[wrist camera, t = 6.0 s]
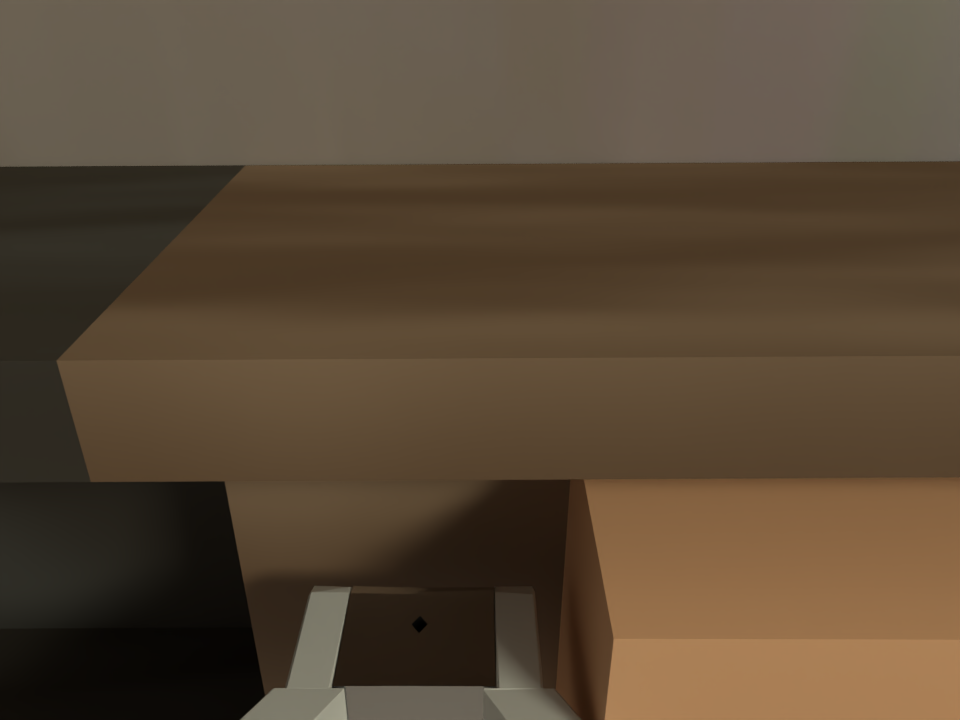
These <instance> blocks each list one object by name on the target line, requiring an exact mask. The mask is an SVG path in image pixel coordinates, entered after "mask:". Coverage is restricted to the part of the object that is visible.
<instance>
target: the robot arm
mask: <svg viewBox="0 0 960 720" xmlns="http://www.w3.org/2000/svg"><path fill="white" fill-rule="evenodd" d="M240 720H582V719H581V718H580V717H579V716H578V715H577V714H576V712H575V711H574V710H573V709H572V708H571V707H570V705H569V704H568V703H567V702H566V701H565V700H564V698H563V697H562V696H561V695H560V694H559V693H558V692H557V690H556V689H549V688H543V680H542V668H541V657H540V645H539V634H538V622H537V611H536V599H535V591H534V590H533V588H532V586H515V587H495V588H494V589H493V587H430V588H409V587H371V586H353V587H336V586H314V587H313V589H312V590H311V592H310V594H309V596H308V600H307V604H306V608H305V612H304V616H303V619H302V623H301V627H300V631H299V635H298V639H297V643H296V647H295V651H294V655H293V659H292V662H291V666H290V670H289V674H288V678H287V682H286V686H285V688H273V689H272V690H271V691H270V692H269V693H268V694H266V695H265V696H264V697H263V698H262V699H261V700H260V701H259V702H258V703H257V704H256V705H255V706H254V707H253V708H252V709H251V710H249V711H248V712H247V713H246V714H245V715H244V716H243V717H242V718H241V719H240Z"/></svg>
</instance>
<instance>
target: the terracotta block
mask: <svg viewBox="0 0 960 720" xmlns="http://www.w3.org/2000/svg"><path fill="white" fill-rule="evenodd" d="M556 690H557V692H558V693H559V694H560V695H561V696H562V697H563V698H564V700H565V701H566V702H567V703H568V704H569V705H570V707H571V708H572V709H573V710H574V711H575V712H576V714H577V715H578V716H579V717H580V718H581V719H582V720H960V477H951V478H760V479H570V491H569V506H568V520H567V535H566V549H565V564H564V578H563V593H562V607H561V621H560V636H559V650H558V665H557V679H556Z"/></svg>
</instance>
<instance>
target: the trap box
mask: <svg viewBox="0 0 960 720" xmlns="http://www.w3.org/2000/svg"><path fill="white" fill-rule="evenodd" d="M951 477H960V162H788V163H610V164H432V165H254V166H76V167H0V720H240V719H241V718H242V717H243V716H244V715H245V714H246V713H247V712H248V711H249V710H251V709H252V708H253V707H254V706H255V705H256V704H257V703H258V702H259V701H260V700H261V699H262V698H263V697H264V696H265V695H266V694H268V693H269V692H270V691H271V690H272V689H273V688H285V686H286V682H287V678H288V674H289V670H290V666H291V662H292V659H293V655H294V651H295V647H296V643H297V639H298V635H299V631H300V627H301V623H302V619H303V616H304V612H305V608H306V604H307V600H308V596H309V594H310V592H311V590H312V589H313V587H314V586H336V587H353V586H371V587H409V588H430V587H493V589H494V588H495V587H515V586H532V588H533V590H534V591H535V599H536V611H537V622H538V634H539V645H540V657H541V668H542V680H543V688H549V689H556V679H557V665H558V650H559V636H560V621H561V607H562V593H563V578H564V564H565V549H566V535H567V520H568V506H569V491H570V479H760V478H951Z"/></svg>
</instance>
